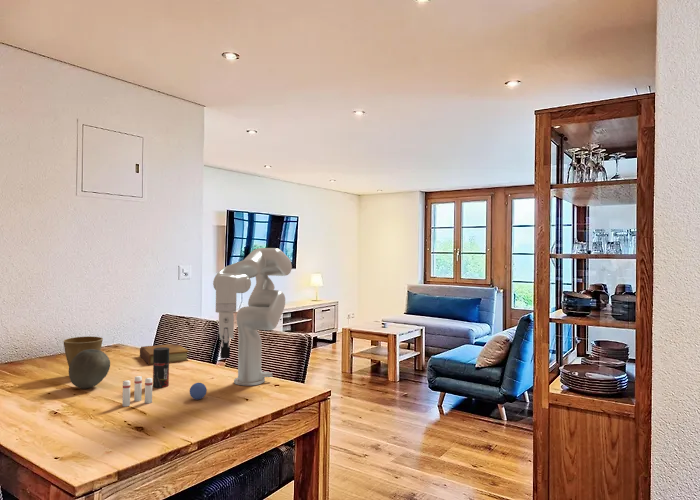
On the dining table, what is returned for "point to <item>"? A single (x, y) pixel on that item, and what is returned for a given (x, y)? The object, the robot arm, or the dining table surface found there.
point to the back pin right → (138, 388)
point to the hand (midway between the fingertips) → (225, 356)
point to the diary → (175, 353)
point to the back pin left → (126, 393)
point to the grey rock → (88, 368)
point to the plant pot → (80, 346)
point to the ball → (198, 391)
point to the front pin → (148, 390)
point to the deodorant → (161, 367)
